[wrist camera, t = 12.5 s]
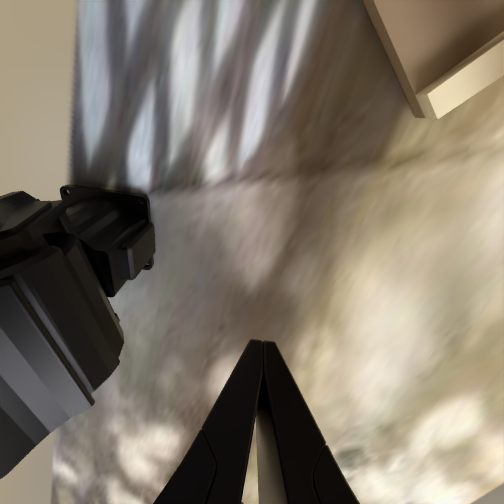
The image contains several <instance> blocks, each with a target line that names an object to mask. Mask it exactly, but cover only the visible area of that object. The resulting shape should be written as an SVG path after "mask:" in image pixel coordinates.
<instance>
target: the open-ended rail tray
mask: <svg viewBox="0 0 504 504" xmlns="http://www.w3.org/2000/svg"><path fill="white" fill-rule="evenodd" d="M362 1H363V3H364V5H365V7H366V10H367V12H368V14H369V16H370V18H371V21H372V23H373V25H374V27H375V29H376V32H377V34H378V36H379V38H380V40H381V43H382V45H383V47H384V49H385V51H386V54H387V56H388V58H389V60H390V62H391V65H392V67H393V69H394V71H395V73H396V75H397V78H398V80H399V82H400V84H401V86H402V89H403V91H404V93H405V95H406V97H407V100H408V102H409V104H410V106H411V108H412V111H413V113H414V115H415V117H416V118H427V119H439V118H440V117H442V116H443V115H445V114H446V113H448V112H449V111H451V110H452V109H454V108H455V107H457V106H458V105H460V104H461V103H463V102H464V101H466V100H467V99H469V98H470V97H472V96H473V95H475V94H476V93H478V92H479V91H480V90H482V89H483V88H485V87H486V86H488V85H489V84H491V83H492V82H494V81H495V80H497V79H498V78H500V77H501V76H503V75H504V0H362Z"/></svg>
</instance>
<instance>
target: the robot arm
mask: <svg viewBox="0 0 504 504" xmlns="http://www.w3.org/2000/svg"><path fill="white" fill-rule="evenodd" d="M67 190H68V191H69V192H70V194H69V193H68V192H67ZM60 194H61V198H62V200H59V201H40V200H39V199H35V198H34V197H32V196H30V195H29V194H27V193H26V192H24V191H18V192H12V193H9V194H6V195H3V196H0V479H1V478H3V477H4V476H5V475H7V474H8V473H9V472H10V471H11V470H12V469H13V468H14V467H15V466H16V465H17V464H18V463H19V462H20V461H21V460H22V459H23V458H24V457H25V456H26V455H27V454H28V453H29V452H30V451H31V450H32V449H33V448H34V447H35V446H36V445H38V444H39V443H40V442H41V441H42V440H43V439H44V438H45V437H46V436H47V435H49V433H51V432H52V431H54V430H55V429H56V428H58V427H59V426H60V425H62V424H63V423H64V422H66V421H67V420H69V419H70V418H72V417H74V416H75V415H77V414H79V413H81V412H83V411H85V410H86V409H88V408H90V407H92V406H93V405H94V403H95V401H94V399H93V398H92V396H91V394H92V393H93V392H94V391H95V390H96V389H97V388H98V387H99V386H100V385H102V384H103V383H104V382H105V381H106V380H107V379H108V378H109V377H110V376H111V374H112V373H113V372H114V370H115V369H116V368H117V366H118V365H119V363H120V360H119V358H118V357H119V355H120V353H121V350H122V347H123V344H124V336H123V331H122V329H121V326H120V324H119V321H120V319H119V317H118V315H117V314H116V313H114V311H113V309H112V306H111V304H110V302H109V300H108V298H107V297H114V296H115V295H116V294H117V292H118V291H119V290H120V289H121V287H122V286H123V285H124V284H125V282H126V281H127V280H133V279H135V278H136V277H137V275H138V274H139V273H140V271H141V270H142V269H143V270H150V269H151V268H152V266H153V264H154V260H153V254H154V253H155V251H156V250H155V234H154V225H153V223H152V222H151V217H150V202H149V199H148V197H146V196H145V195H142V194H135V193H127V192H120V191H112V190H105V189H97V188H90V187H82V186H75V185H65V186H62V187H61V188H60ZM140 199H141V200H143V201H144V204H141V203H140V201H139V200H140ZM147 263H148V264H149V265H146V264H147ZM255 418H256V440H257V466H258V491H259V504H360V503H359V501H358V500H357V498H356V496H355V495H354V493H353V491H352V490H351V488H350V486H349V484H348V483H347V481H346V479H345V477H344V475H343V474H342V472H341V470H340V468H339V466H338V464H337V462H336V461H335V459H334V457H333V455H332V453H331V451H330V449H329V447H328V445H326V441H325V439H324V437H323V435H322V433H321V431H320V429H319V427H318V425H317V423H316V421H315V419H314V417H313V415H312V413H311V412H310V410H309V408H308V406H307V404H306V402H305V400H304V398H303V396H302V394H301V392H300V390H299V388H298V386H297V384H296V382H295V380H294V378H293V376H292V374H291V372H290V370H289V368H288V366H287V364H286V362H285V360H284V358H283V356H282V354H281V352H280V350H279V348H278V347H277V345H276V343H275V342H273V341H263V342H262V340H257V339H251V340H250V341H249V342H248V344H247V346H246V348H245V350H244V351H243V353H242V355H241V357H240V359H239V361H238V362H237V364H236V366H235V368H234V370H233V371H232V373H231V375H230V377H229V379H228V380H227V382H226V384H225V386H224V388H223V390H222V391H221V393H220V395H219V397H218V399H217V400H216V402H215V404H214V406H213V408H212V409H211V411H210V413H209V415H208V417H207V419H206V420H205V422H204V424H203V426H202V429H201V430H200V431H199V433H198V434H197V436H196V438H195V440H194V442H193V443H192V445H191V447H190V449H189V450H188V452H187V454H186V455H185V457H184V459H183V460H182V462H181V464H180V465H179V467H178V468H177V470H176V471H175V473H174V474H173V476H172V477H171V479H170V480H169V482H168V483H167V485H166V486H165V487H164V489H163V490H162V492H161V493H160V495H159V496H158V497H157V499H156V500H155V502H154V503H153V504H241V500H242V495H243V489H244V483H245V477H246V471H247V465H248V459H249V453H250V448H251V442H252V436H253V430H254V424H255Z"/></svg>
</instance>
